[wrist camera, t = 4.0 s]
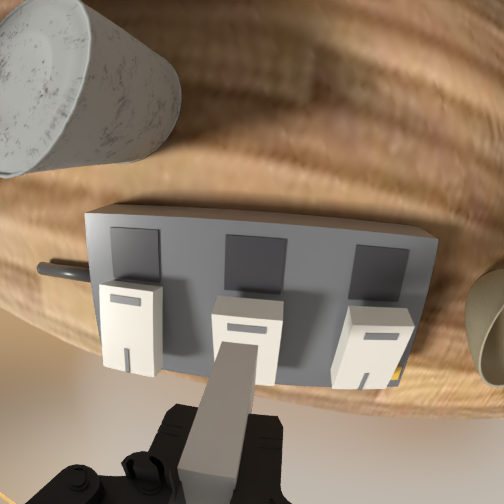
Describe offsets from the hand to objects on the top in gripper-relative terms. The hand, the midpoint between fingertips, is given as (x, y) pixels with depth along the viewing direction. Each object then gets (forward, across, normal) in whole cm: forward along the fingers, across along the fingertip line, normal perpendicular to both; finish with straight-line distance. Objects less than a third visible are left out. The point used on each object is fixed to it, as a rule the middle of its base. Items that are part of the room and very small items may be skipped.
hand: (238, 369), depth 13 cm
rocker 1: (+6, -8, -3) cm, 11 cm away
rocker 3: (+6, +8, -3) cm, 10 cm away
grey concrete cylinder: (+12, -11, +13) cm, 21 cm away
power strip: (+12, -5, -1) cm, 13 cm away
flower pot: (+12, +21, -1) cm, 24 cm away
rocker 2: (+6, 0, -3) cm, 7 cm away
